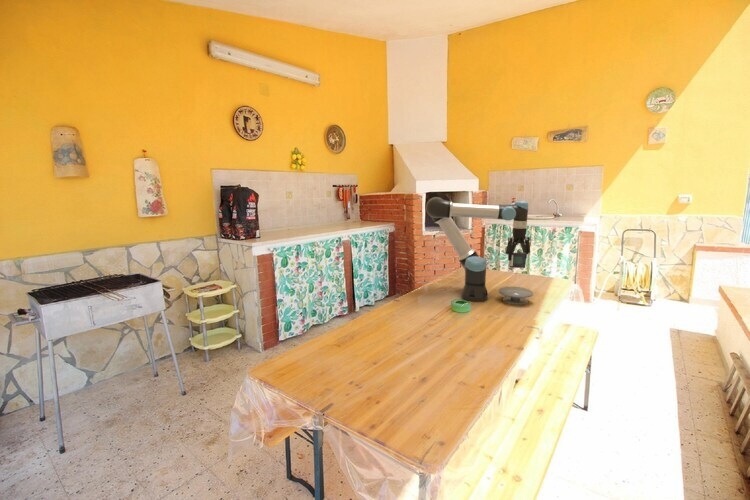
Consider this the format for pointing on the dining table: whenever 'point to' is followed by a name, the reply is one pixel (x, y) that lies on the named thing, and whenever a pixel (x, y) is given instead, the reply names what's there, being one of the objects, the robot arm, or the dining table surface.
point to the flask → (519, 260)
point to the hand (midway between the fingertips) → (516, 265)
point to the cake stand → (515, 295)
